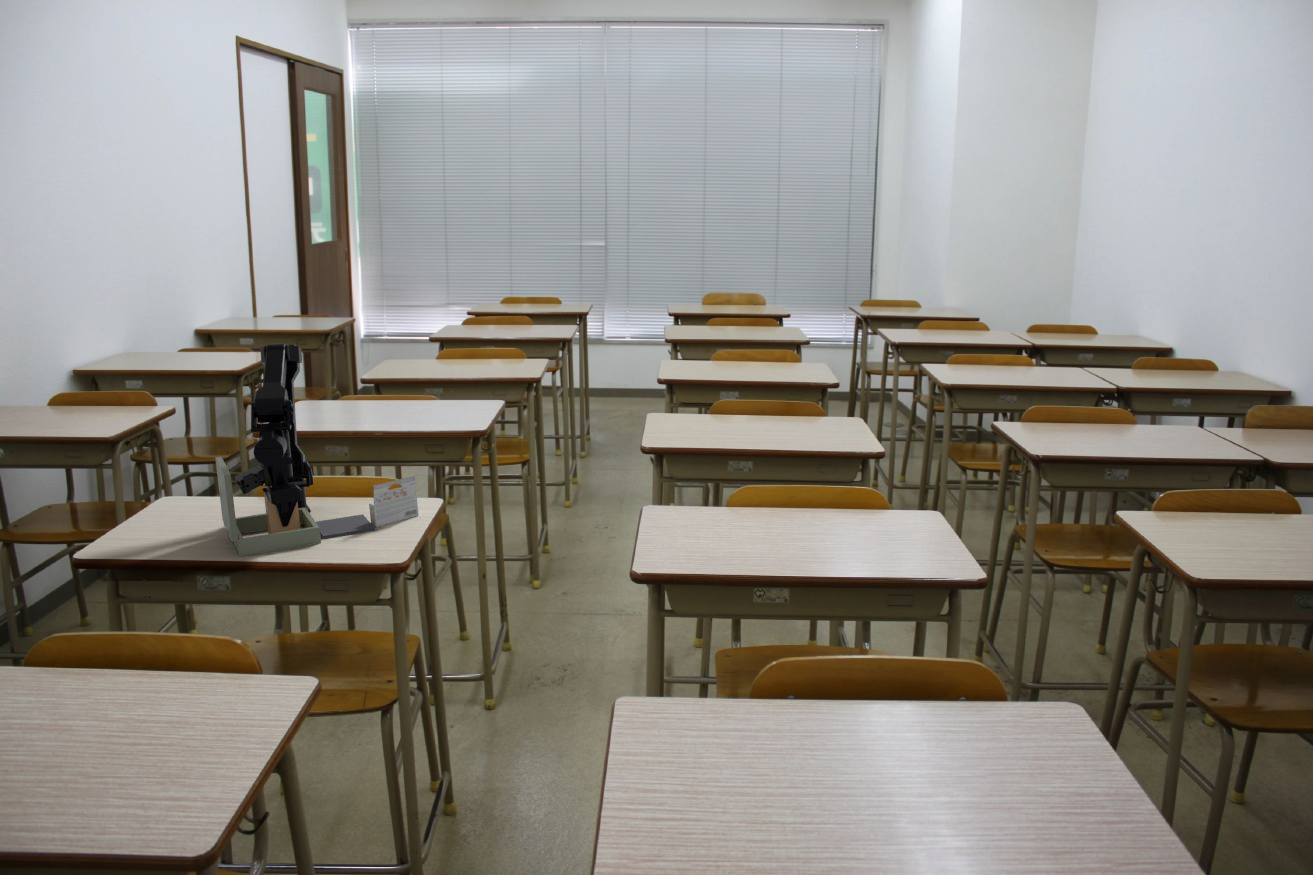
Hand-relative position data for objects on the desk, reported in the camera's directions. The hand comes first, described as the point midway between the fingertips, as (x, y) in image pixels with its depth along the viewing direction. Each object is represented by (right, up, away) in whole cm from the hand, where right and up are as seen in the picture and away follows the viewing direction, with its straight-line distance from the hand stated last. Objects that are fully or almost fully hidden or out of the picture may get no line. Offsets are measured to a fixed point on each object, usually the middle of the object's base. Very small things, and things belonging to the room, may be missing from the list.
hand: (283, 523), depth 207 cm
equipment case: (-2, -3, 0) cm, 4 cm away
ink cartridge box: (+21, -1, +12) cm, 24 cm away
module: (0, -3, +1) cm, 3 cm away
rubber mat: (+11, -1, +7) cm, 13 cm away
